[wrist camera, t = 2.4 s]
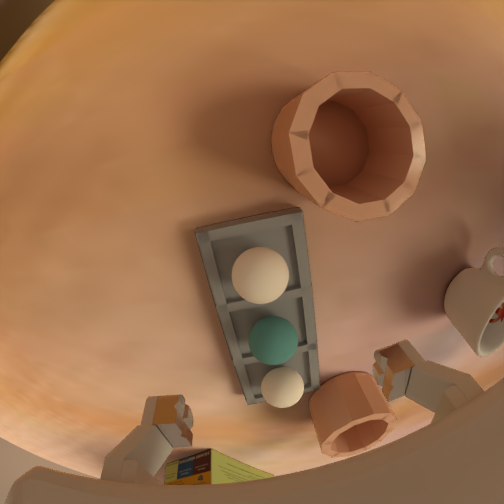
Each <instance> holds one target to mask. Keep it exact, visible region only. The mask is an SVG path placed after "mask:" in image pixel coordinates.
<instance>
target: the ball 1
mask: <svg viewBox="0 0 504 504" xmlns="http://www.w3.org/2000/svg"><path fill="white" fill-rule="evenodd" d="M288 280H289V271H288V267H287V264H286V262H285V260H284V259H283V257H282V256H281V255H280V254H279V253H277V252H276V251H274V250H272V249H270V248H266V247H254V248H251V249H248V250H246V251H245V252H243V253H242V254H241V255H240V256H239V257H238V258H237V259H236V261H235V263H234V265H233V268H232V282H233V286H234V288H235V290H236V291H237V293H238V294H239V295H240V296H241V297H242V298H243V299H245V300H247V301H249V302H251V303H255V304H265V303H269V302H272V301H274V300H276V299H277V298H278V297H279V296H281V294H282V293H283V292H284V291H285V289H286V287H287V284H288Z"/></svg>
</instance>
